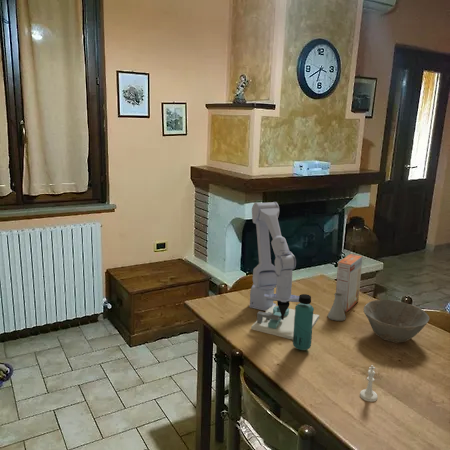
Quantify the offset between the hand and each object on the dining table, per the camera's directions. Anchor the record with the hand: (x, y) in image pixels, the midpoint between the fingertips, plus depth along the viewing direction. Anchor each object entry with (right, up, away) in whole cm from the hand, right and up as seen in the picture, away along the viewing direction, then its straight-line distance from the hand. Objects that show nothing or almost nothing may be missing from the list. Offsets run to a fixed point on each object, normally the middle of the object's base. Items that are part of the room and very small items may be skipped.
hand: (282, 318), depth 170 cm
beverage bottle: (+4, -7, -17) cm, 19 cm away
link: (-2, 0, +2) cm, 3 cm away
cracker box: (+30, +2, +19) cm, 36 cm away
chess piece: (+20, -14, -42) cm, 48 cm away
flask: (+23, -1, +8) cm, 24 cm away
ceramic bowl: (+40, -5, -7) cm, 41 cm away
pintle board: (+2, -2, +1) cm, 3 cm away
